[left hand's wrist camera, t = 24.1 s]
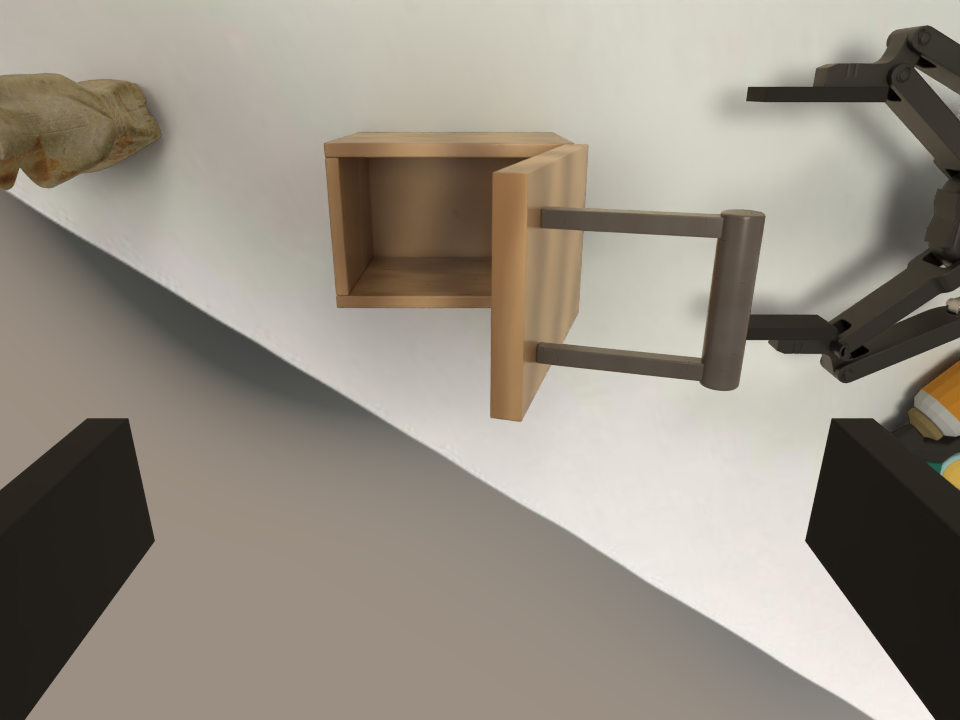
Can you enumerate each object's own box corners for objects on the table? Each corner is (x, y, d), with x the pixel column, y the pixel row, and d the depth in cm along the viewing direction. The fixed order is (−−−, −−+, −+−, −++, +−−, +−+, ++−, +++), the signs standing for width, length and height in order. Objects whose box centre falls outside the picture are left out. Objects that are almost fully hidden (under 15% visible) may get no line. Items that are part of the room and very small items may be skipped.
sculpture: (45, 94, 43) (-161, 94, 29) (147, 62, 43) (-15, 46, 29) (87, 183, 46) (-86, 222, 32) (185, 154, 45) (52, 181, 31)
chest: (365, 264, 48) (336, 308, 38) (357, 132, 44) (323, 142, 35) (548, 264, 48) (566, 308, 38) (553, 132, 44) (574, 143, 35)
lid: (489, 418, 25) (737, 451, 23) (491, 172, 22) (781, 181, 20) (557, 311, 38) (721, 325, 35) (564, 143, 34) (747, 147, 32)
